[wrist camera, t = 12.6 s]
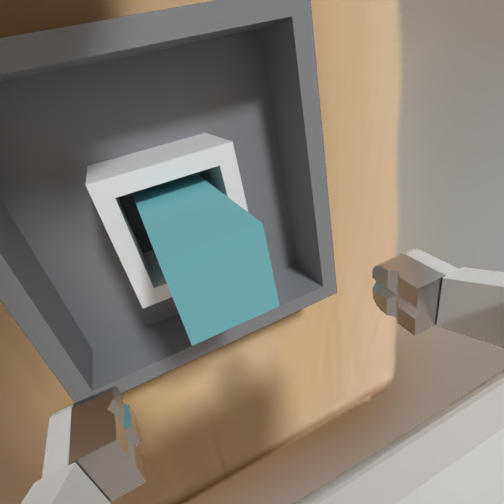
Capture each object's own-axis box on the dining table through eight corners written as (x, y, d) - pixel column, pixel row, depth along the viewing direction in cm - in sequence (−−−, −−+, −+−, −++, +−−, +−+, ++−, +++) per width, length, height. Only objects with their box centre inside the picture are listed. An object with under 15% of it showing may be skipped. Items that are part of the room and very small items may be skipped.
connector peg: (128, 185, 21) (158, 262, 11) (187, 166, 22) (262, 223, 12) (150, 239, 23) (192, 345, 13) (203, 220, 24) (279, 306, 14)
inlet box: (-101, 75, 16) (-189, 65, 11) (267, 6, 21) (320, -22, 16) (83, 361, 26) (80, 424, 21) (304, 266, 31) (344, 299, 26)
